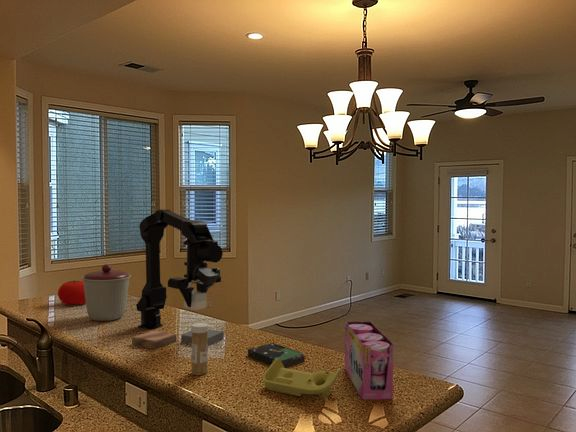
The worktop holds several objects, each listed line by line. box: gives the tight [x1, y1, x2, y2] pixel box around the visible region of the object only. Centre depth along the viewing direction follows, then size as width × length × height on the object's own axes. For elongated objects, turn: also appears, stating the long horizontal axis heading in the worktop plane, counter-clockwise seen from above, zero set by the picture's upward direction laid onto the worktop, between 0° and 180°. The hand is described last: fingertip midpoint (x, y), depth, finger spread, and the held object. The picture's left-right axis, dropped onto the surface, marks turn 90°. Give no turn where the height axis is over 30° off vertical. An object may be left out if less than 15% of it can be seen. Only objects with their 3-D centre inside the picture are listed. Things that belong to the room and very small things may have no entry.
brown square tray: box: [131, 329, 177, 350], centre depth 163 cm, size 10×10×2 cm
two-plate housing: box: [183, 289, 207, 311], centre depth 166 cm, size 6×4×5 cm
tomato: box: [57, 280, 86, 306], centre depth 217 cm, size 14×13×10 cm
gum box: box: [344, 321, 394, 401], centre depth 131 cm, size 24×8×14 cm, turn 5°
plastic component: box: [262, 359, 342, 399], centre depth 126 cm, size 20×7×10 cm
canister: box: [80, 263, 132, 322], centre depth 194 cm, size 18×18×21 cm
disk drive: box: [247, 342, 306, 368], centre depth 150 cm, size 10×3×15 cm
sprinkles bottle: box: [190, 322, 209, 376], centre depth 137 cm, size 5×5×14 cm
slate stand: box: [180, 328, 225, 347], centre depth 167 cm, size 10×10×2 cm
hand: (194, 305), depth 166 cm, fingers closed on two-plate housing, 4 cm apart
